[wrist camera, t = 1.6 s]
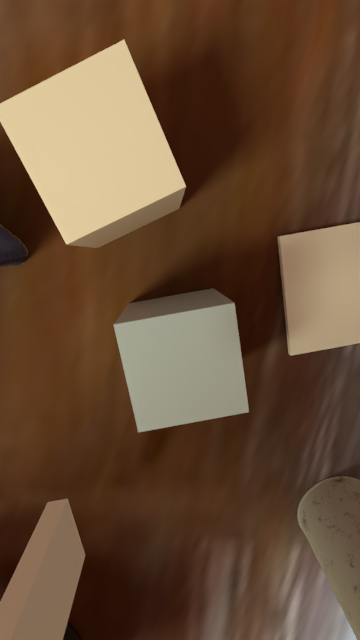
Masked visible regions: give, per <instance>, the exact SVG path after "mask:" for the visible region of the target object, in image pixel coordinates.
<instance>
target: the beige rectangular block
mask: <svg viewBox="0 0 360 640" xmlns="http://www.w3.org/2000/svg"><path fill="white" fill-rule="evenodd" d="M0 122H1V124H2V126H3V127H4V129H5V131H6V133H7V135H8V137H9V139H10V140H11V142H12V144H13V146H14V148H15V150H16V152H17V154H18V155H19V157H20V159H21V161H22V163H23V165H24V167H25V168H26V170H27V172H28V174H29V176H30V178H31V180H32V181H33V183H34V185H35V187H36V189H37V191H38V193H39V194H40V196H41V198H42V200H43V202H44V204H45V206H46V207H47V209H48V211H49V213H50V215H51V217H52V219H53V221H54V222H55V224H56V226H57V228H58V230H59V232H60V234H61V235H62V237H63V239H64V241H65V243H66V245H75V246H85V247H94V248H99V247H101V246H103V245H105V244H107V243H109V242H111V241H113V240H115V239H117V238H119V237H122V236H124V235H126V234H128V233H130V232H132V231H134V230H136V229H138V228H140V227H142V226H144V225H146V224H149V223H151V222H153V221H155V220H157V219H159V218H161V217H163V216H165V215H167V214H169V213H171V212H173V211H175V210H178V209H179V208H180V205H181V201H182V198H183V195H184V192H185V189H186V185H185V183H184V180H183V178H182V176H181V173H180V171H179V168H178V166H177V164H176V161H175V159H174V157H173V154H172V152H171V150H170V147H169V145H168V142H167V140H166V138H165V135H164V133H163V131H162V128H161V126H160V123H159V121H158V119H157V116H156V114H155V112H154V109H153V107H152V105H151V102H150V100H149V97H148V95H147V93H146V90H145V88H144V86H143V83H142V81H141V78H140V76H139V74H138V71H137V69H136V67H135V64H134V62H133V60H132V57H131V55H130V52H129V50H128V48H127V45H126V43H125V41H124V40H122V41H120V42H118V43H117V44H115V45H113V46H111V47H109V48H107V49H105V50H103V51H101V52H99V53H97V54H95V55H93V56H91V57H89V58H88V59H86V60H84V61H82V62H80V63H78V64H76V65H74V66H72V67H70V68H68V69H66V70H64V71H62V72H60V73H59V74H57V75H55V76H53V77H51V78H49V79H47V80H45V81H43V82H41V83H39V84H37V85H35V86H33V87H31V88H30V89H28V90H26V91H24V92H22V93H20V94H18V95H16V96H14V97H12V98H10V99H8V100H6V101H4V102H2V103H0Z"/></svg>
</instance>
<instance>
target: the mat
mask: <svg viewBox="0 0 360 640" xmlns="http://www.w3.org/2000/svg"><path fill="white" fill-rule="evenodd" d="M277 238H278V248H279V259H280V270H281V280H282V291H283V302H284V312H285V323H286V334H287V345H288V354H289V355H291V356H292V355H297V354H303V353H308V352H314V351H319V350H325V349H330V348H336V347H341V346H347V345H352V344H358V343H360V222H357V223H352V224H346V225H340V226H335V227H329V228H324V229H318V230H312V231H307V232H301V233H295V234H290V235H284V236H278V237H277Z"/></svg>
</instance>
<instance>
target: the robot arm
mask: <svg viewBox="0 0 360 640" xmlns="http://www.w3.org/2000/svg"><path fill="white" fill-rule="evenodd" d="M84 559H85V552H84V549H83V546H82V543H81V539H80V536H79V533H78V530H77V527H76V524H75V520H74V517H73V514H72V511H71V508H70V505H69V502H68V499H62V500H57V501H51V502H47V504H46V507H45V509H44V511H43V513H42V515H41V517H40V519H39V521H38V523H37V526H36V528H35V530H34V532H33V534H32V536H31V538H30V540H29V542H28V544H27V547H26V549H25V551H24V553H23V555H22V557H21V559H20V561H19V563H18V565H17V568H16V570H15V572H14V574H13V576H12V578H11V580H10V582H9V584H8V586H7V589H6V591H5V593H4V595H3V597H2V599H1V601H0V640H79V638H78V636H77V634H76V633H75V632H74V630H73V629H72V628H71V627H70V626H69V625H68V624H67V622H68V619H69V615H70V611H71V607H72V604H73V600H74V596H75V592H76V589H77V585H78V581H79V577H80V574H81V570H82V566H83V562H84Z"/></svg>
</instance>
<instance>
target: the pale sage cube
mask: <svg viewBox="0 0 360 640" xmlns="http://www.w3.org/2000/svg"><path fill="white" fill-rule="evenodd" d="M114 329H115V333H116V338H117V342H118V346H119V351H120V355H121V359H122V364H123V368H124V372H125V377H126V381H127V385H128V390H129V394H130V398H131V403H132V407H133V411H134V416H135V420H136V424H137V429H138V432H144V431H149V430H154V429H160V428H165V427H171V426H176V425H182V424H187V423H193V422H198V421H203V420H209V419H214V418H220V417H225V416H231V415H236V414H241V413H247V412H249V408H248V400H247V393H246V385H245V378H244V370H243V363H242V355H241V347H240V340H239V332H238V325H237V317H236V310H235V303H234V302H233V301H231V300H230V299H228V298H227V297H225V296H224V295H222V294H221V293H220V292H218V291H217V290H215V289H214V288H212V289H206V290H201V291H195V292H189V293H184V294H178V295H173V296H167V297H161V298H156V299H150V300H145V301H139V302H133V303H129V304H128V306H127V307H126V308H125V310H124V311H123V312H122V314H121V315H120V316H119V318H118V319H117V320H116V322H115V323H114Z"/></svg>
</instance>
